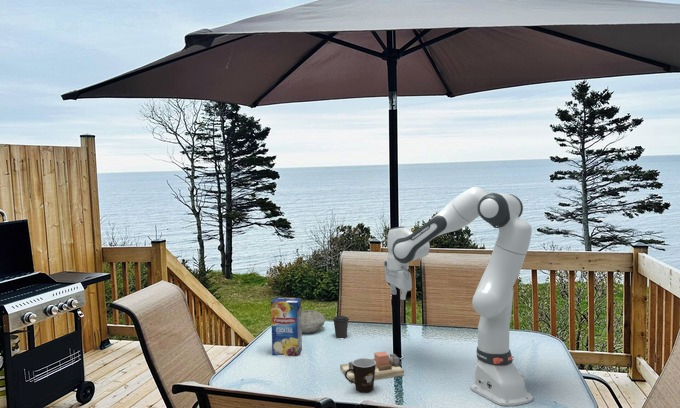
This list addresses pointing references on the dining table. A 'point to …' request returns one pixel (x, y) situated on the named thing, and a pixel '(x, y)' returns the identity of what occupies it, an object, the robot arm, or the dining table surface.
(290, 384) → the dining table surface
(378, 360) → the reddish orange block
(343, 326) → the coffee cup
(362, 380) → the coffee mug
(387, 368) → the shaft bench
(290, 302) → the juice carton
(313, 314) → the grey rock
